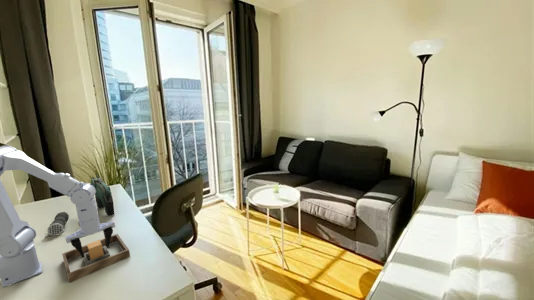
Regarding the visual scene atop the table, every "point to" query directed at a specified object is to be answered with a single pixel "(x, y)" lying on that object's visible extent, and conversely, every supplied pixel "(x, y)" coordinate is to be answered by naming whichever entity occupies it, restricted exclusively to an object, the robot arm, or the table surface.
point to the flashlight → (58, 224)
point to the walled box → (97, 262)
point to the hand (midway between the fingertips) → (95, 251)
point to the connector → (95, 249)
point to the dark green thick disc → (103, 195)
